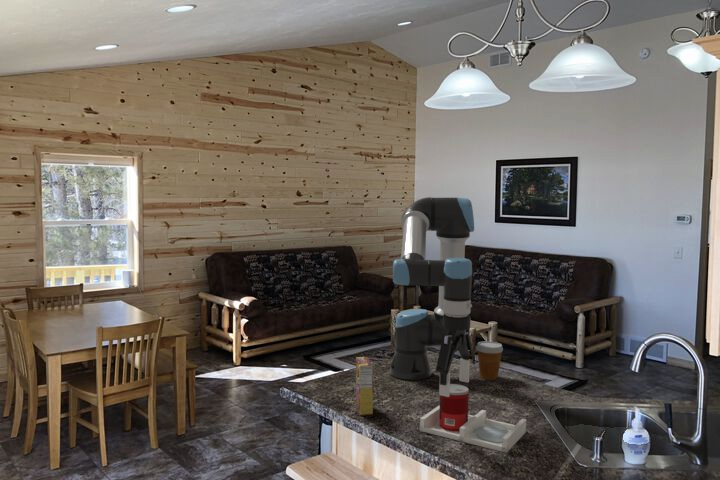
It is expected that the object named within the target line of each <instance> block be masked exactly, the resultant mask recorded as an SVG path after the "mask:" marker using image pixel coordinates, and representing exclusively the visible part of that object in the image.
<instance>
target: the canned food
mask: <svg viewBox="0 0 720 480" xmlns="http://www.w3.org/2000/svg"><path fill="white" fill-rule="evenodd" d="M469 390H470V389H469V387H467V386H465V385H462V384H455V383H453V384H452V383H450V396H449V397H446V396H442V395H439V405H440V411H439V424H440V426H441V428H443V429H445V430H448V431H460V427H461V426H463V425H464V424H465V423H466V422H468V414H469V401H470V399H469V398H470V391H469Z"/></svg>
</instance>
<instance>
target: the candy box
mask: <svg viewBox="0 0 720 480" xmlns="http://www.w3.org/2000/svg"><path fill="white" fill-rule="evenodd" d="M373 367H374V365H373V364H372V362H371V360H370V358H369V357H368V356H359V357H358V356H357V357H355V390H356V391H355V394H356V395H355V397H356V398H355V399H356V400H355V401H356V402H355V403H356V407H357V410H358V412H359V413H358V414H359V415H361V416H362V415H363V416H365V415H366V416H367V415H368V416H369V415H373V412H374V411H373V410H374V409H373V408H374V407H373V405H374V402H373V401H374V398H373V397H374V396H373V395H374V391H373V390H374V389H373V386H374V385H373V383H374V376H373V375H374V373H373V371H374V370H373Z"/></svg>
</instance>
